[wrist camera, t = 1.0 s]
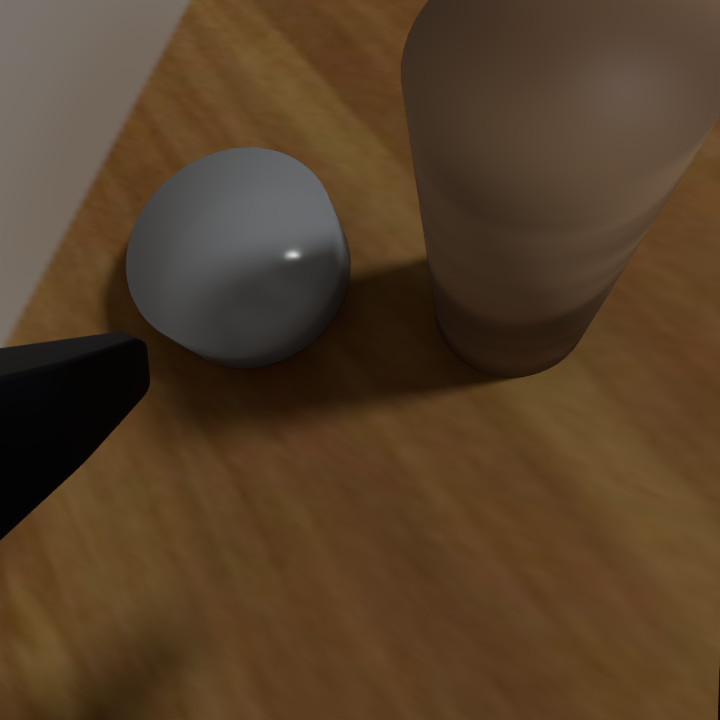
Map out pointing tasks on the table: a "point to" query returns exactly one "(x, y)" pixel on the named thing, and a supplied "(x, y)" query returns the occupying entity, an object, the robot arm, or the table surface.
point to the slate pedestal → (239, 258)
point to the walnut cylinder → (548, 157)
